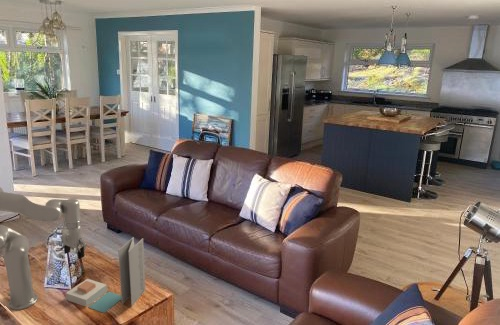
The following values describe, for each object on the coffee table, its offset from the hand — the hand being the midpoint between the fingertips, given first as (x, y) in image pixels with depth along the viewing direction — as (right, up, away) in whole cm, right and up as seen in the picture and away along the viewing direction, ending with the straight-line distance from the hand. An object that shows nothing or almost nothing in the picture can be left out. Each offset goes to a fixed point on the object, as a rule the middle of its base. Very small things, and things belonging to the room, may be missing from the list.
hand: (74, 255), depth 190 cm
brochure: (+29, -22, +2) cm, 37 cm away
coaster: (+6, -17, +1) cm, 18 cm away
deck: (+6, -21, +2) cm, 22 cm away
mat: (+17, -23, -2) cm, 29 cm away
